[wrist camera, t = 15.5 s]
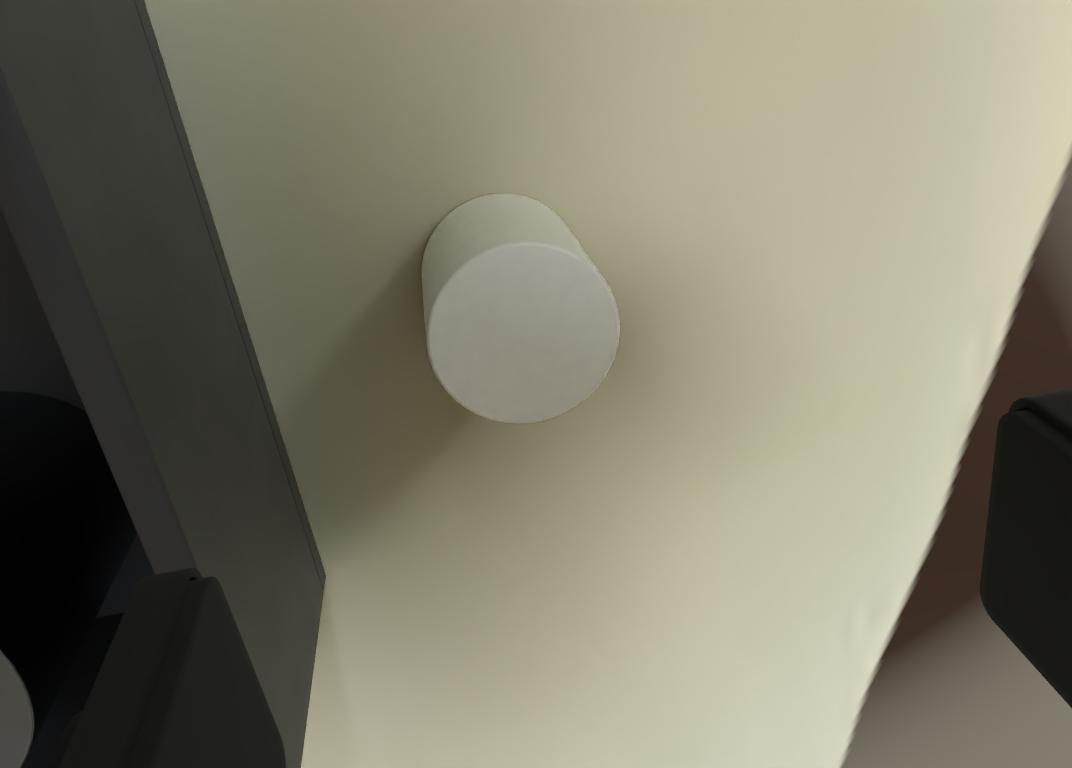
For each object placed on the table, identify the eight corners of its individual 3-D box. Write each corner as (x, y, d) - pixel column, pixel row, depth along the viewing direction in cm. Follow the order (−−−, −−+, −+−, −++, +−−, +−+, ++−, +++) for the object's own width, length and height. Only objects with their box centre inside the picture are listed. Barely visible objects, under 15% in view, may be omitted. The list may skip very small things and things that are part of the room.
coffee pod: (452, 168, 23) (465, 213, 18) (604, 224, 24) (651, 279, 19) (400, 319, 24) (399, 395, 20) (545, 364, 25) (576, 446, 21)
